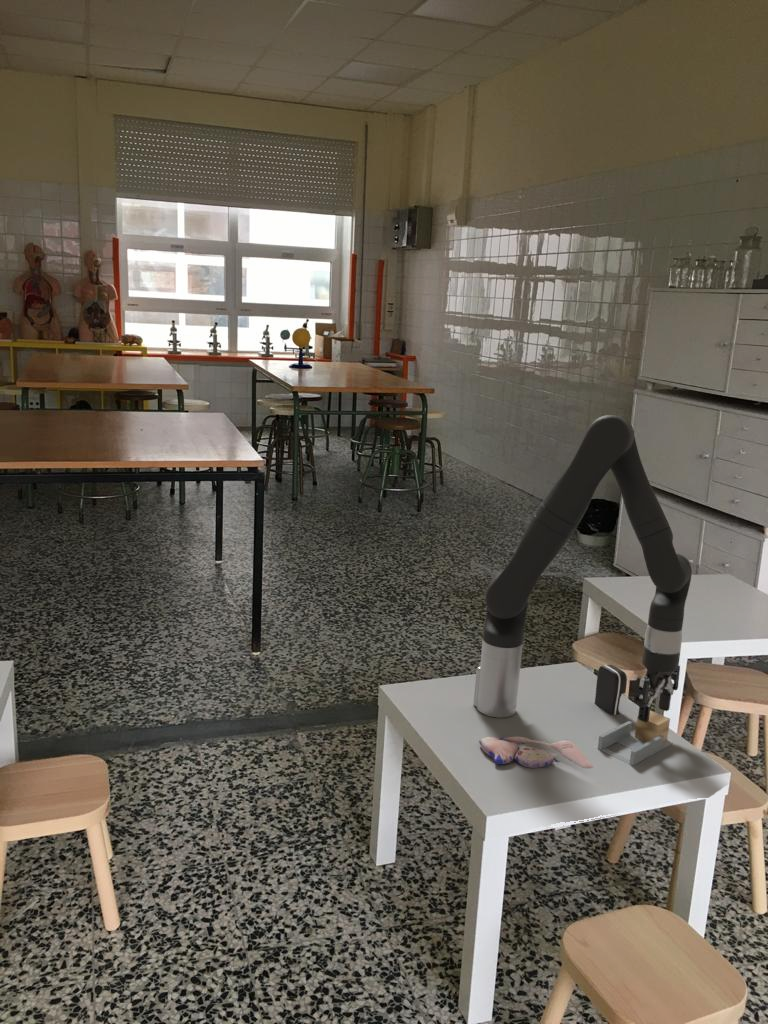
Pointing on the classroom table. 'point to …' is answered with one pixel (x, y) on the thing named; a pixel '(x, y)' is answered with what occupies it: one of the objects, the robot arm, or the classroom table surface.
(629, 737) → the channel
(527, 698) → the classroom table surface
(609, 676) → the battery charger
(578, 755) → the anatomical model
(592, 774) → the classroom table surface
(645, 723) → the oak block
